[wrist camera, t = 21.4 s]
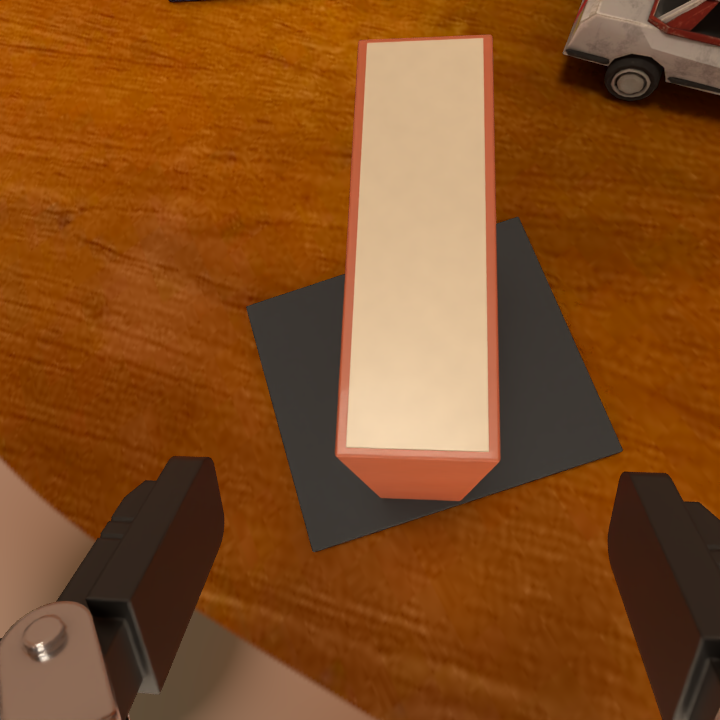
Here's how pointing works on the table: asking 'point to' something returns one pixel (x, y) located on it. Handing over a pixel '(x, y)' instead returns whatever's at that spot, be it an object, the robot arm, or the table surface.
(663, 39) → the toy car
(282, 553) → the table surface
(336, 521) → the mat
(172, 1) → the hardcover
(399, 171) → the paperback
